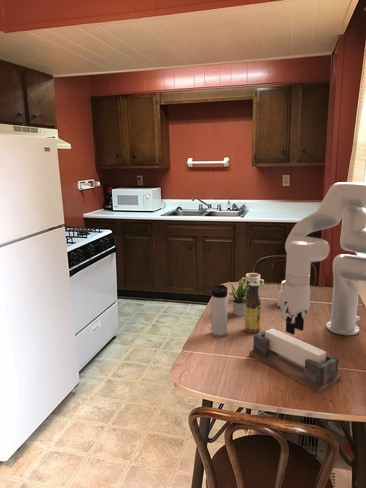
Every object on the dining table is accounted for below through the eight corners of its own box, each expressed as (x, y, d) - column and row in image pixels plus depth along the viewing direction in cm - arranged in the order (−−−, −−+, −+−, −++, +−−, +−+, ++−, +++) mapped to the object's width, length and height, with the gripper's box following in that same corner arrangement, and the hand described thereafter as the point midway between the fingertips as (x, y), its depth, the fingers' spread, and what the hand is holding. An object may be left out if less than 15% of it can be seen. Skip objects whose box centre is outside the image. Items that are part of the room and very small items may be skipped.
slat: (264, 346, 141) (265, 331, 140) (271, 343, 144) (272, 328, 142) (317, 373, 124) (318, 355, 123) (324, 368, 127) (326, 351, 125)
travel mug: (229, 331, 161) (230, 285, 157) (223, 338, 155) (224, 290, 151) (214, 329, 164) (215, 283, 159) (209, 335, 158) (209, 288, 153)
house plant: (263, 319, 173) (264, 283, 170) (234, 323, 169) (235, 287, 166) (249, 307, 187) (250, 274, 183) (221, 310, 183) (222, 277, 179)
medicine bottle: (296, 304, 190) (297, 280, 187) (291, 309, 184) (293, 284, 181) (281, 301, 193) (283, 278, 191) (277, 306, 188) (278, 282, 185)
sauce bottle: (260, 334, 159) (261, 287, 154) (244, 333, 160) (245, 286, 155) (260, 327, 165) (262, 282, 160) (245, 326, 166) (246, 281, 162)
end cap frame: (271, 345, 150) (272, 327, 148) (340, 379, 127) (342, 358, 125) (249, 355, 143) (249, 336, 141) (318, 392, 120) (320, 370, 118)
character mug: (239, 301, 195) (240, 275, 192) (243, 296, 201) (243, 271, 198) (261, 303, 191) (262, 278, 188) (264, 298, 197) (265, 274, 194)
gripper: (303, 271, 135) (300, 321, 140) (271, 281, 126) (269, 334, 130) (322, 276, 130) (319, 328, 134) (290, 287, 120) (287, 342, 124)
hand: (294, 330), depth 132 cm, fingers open, 3 cm apart
